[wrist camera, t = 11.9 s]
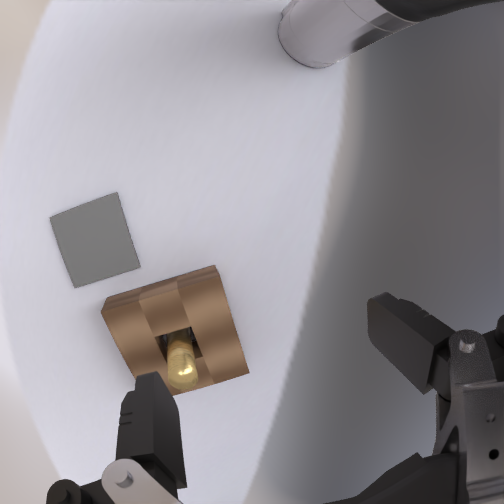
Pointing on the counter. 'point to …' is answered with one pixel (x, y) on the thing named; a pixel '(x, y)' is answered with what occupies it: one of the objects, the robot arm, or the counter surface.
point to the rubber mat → (95, 240)
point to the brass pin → (181, 359)
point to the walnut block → (177, 327)
